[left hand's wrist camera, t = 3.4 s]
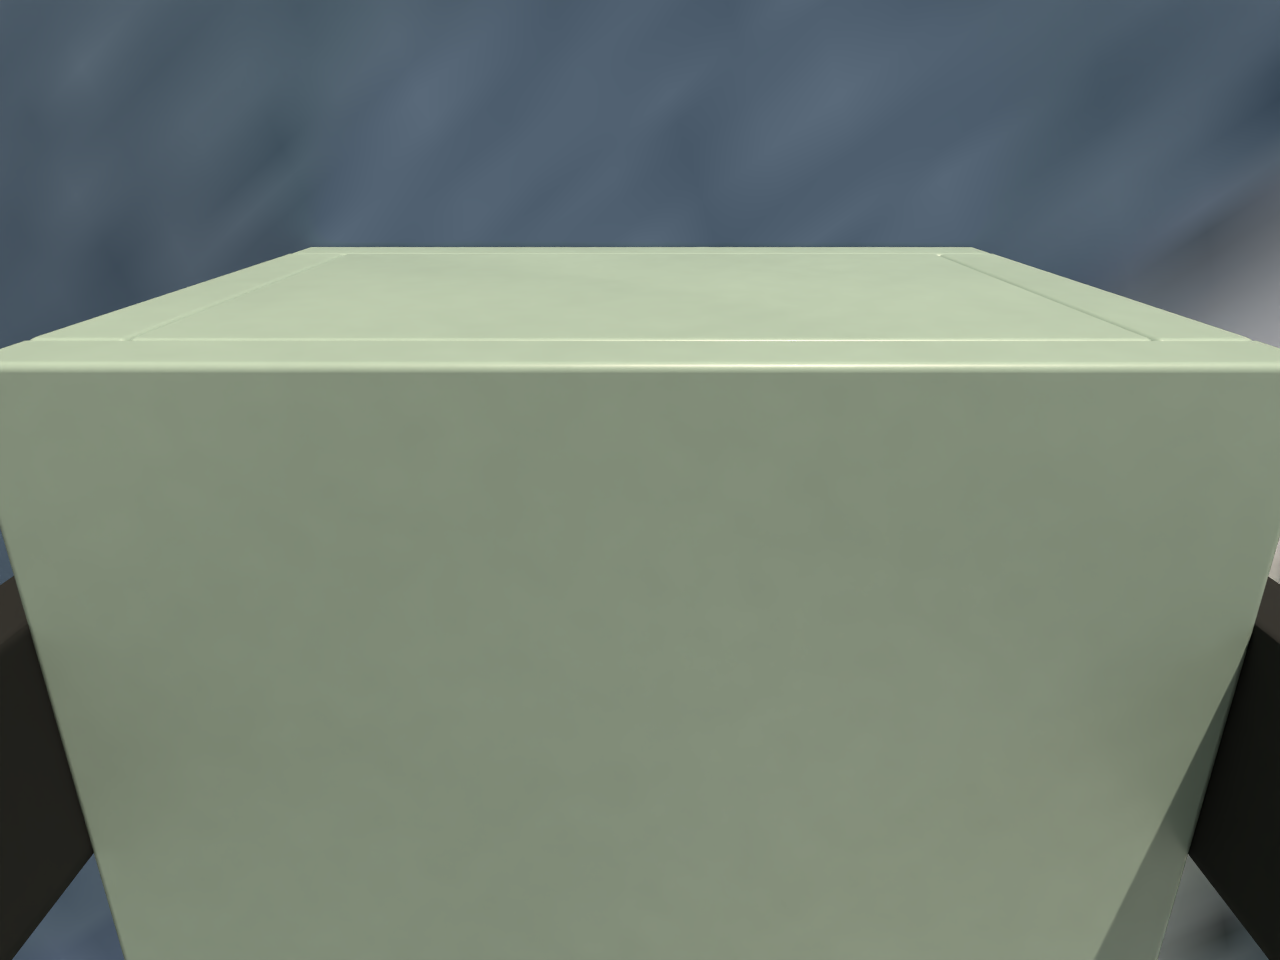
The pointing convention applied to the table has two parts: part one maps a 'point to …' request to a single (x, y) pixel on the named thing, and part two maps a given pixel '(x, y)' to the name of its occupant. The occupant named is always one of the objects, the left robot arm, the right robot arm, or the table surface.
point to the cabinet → (640, 602)
